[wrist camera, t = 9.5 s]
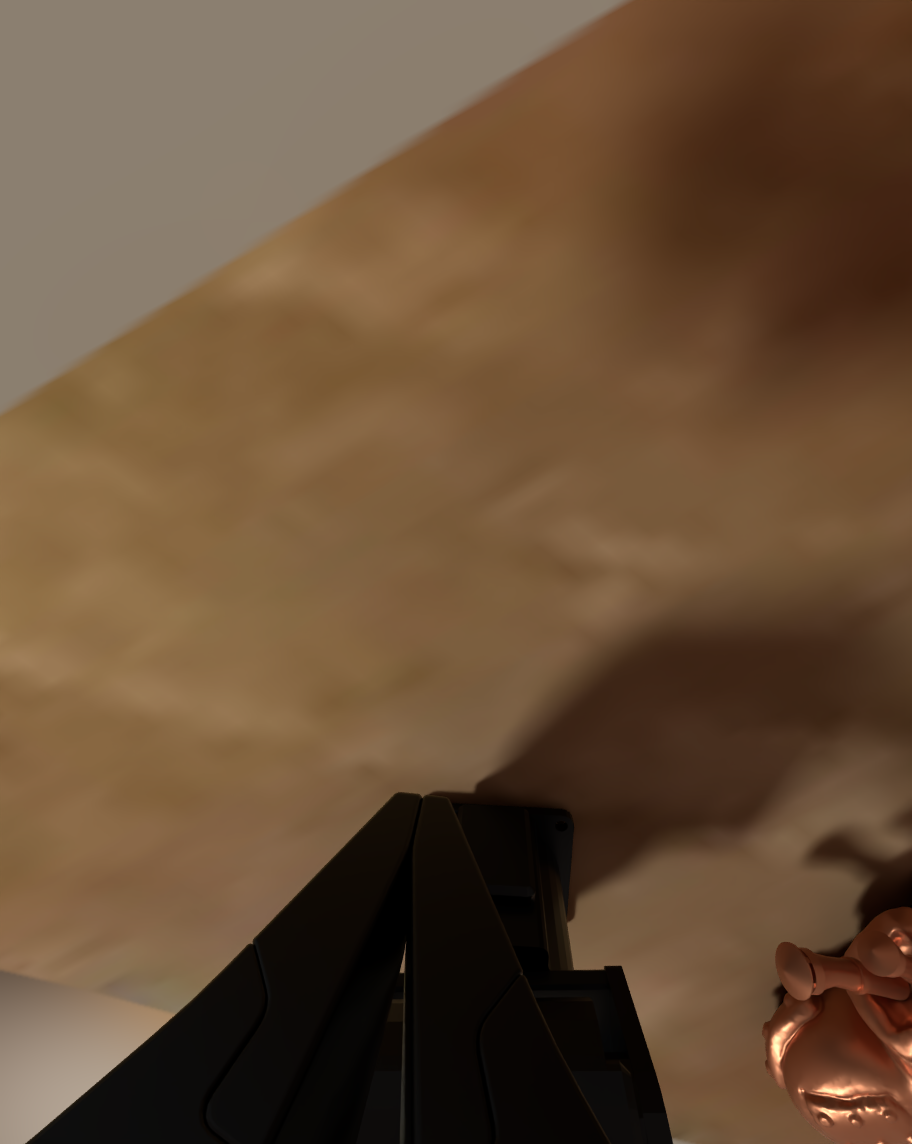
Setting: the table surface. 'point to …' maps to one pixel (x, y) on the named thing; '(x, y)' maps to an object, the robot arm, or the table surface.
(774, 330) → the table surface
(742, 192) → the table surface
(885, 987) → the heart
